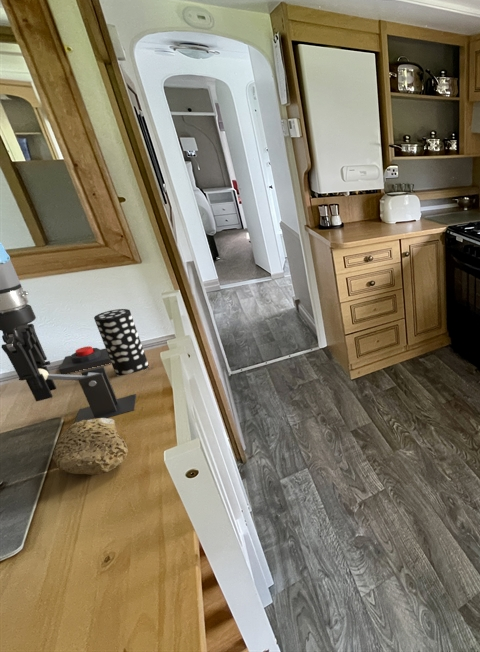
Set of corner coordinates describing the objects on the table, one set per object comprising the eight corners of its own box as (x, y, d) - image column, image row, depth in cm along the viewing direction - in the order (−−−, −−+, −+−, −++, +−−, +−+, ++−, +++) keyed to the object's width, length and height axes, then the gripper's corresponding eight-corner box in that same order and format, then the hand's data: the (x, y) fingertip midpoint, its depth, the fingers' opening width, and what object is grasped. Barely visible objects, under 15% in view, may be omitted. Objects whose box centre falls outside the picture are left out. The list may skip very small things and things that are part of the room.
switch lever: (22, 385, 90) (26, 371, 89) (27, 378, 92) (30, 365, 92) (98, 388, 98) (102, 375, 98) (100, 382, 101) (103, 369, 101)
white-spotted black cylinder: (109, 374, 120) (87, 317, 113) (137, 361, 128) (118, 307, 120) (127, 379, 118) (105, 321, 111) (155, 366, 125) (136, 311, 118)
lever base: (74, 430, 96) (55, 388, 91) (80, 412, 103) (62, 372, 98) (135, 413, 103) (120, 373, 98) (137, 397, 109) (123, 358, 105)
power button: (76, 358, 123) (74, 353, 122) (78, 353, 125) (76, 348, 125) (92, 354, 125) (91, 349, 124) (94, 349, 128) (92, 345, 127)
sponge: (64, 451, 91) (37, 493, 75) (62, 420, 90) (34, 456, 74) (136, 438, 99) (125, 474, 83) (135, 409, 98) (123, 440, 82)
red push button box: (61, 375, 119) (56, 364, 118) (67, 362, 127) (63, 352, 125) (111, 364, 126) (107, 353, 125) (114, 352, 134) (110, 342, 132)
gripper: (19, 316, 81) (60, 405, 90) (38, 294, 94) (73, 375, 102) (-35, 325, 77) (14, 417, 86) (-7, 300, 89) (33, 384, 98)
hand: (46, 394), depth 94 cm, fingers closed on switch lever, 4 cm apart
